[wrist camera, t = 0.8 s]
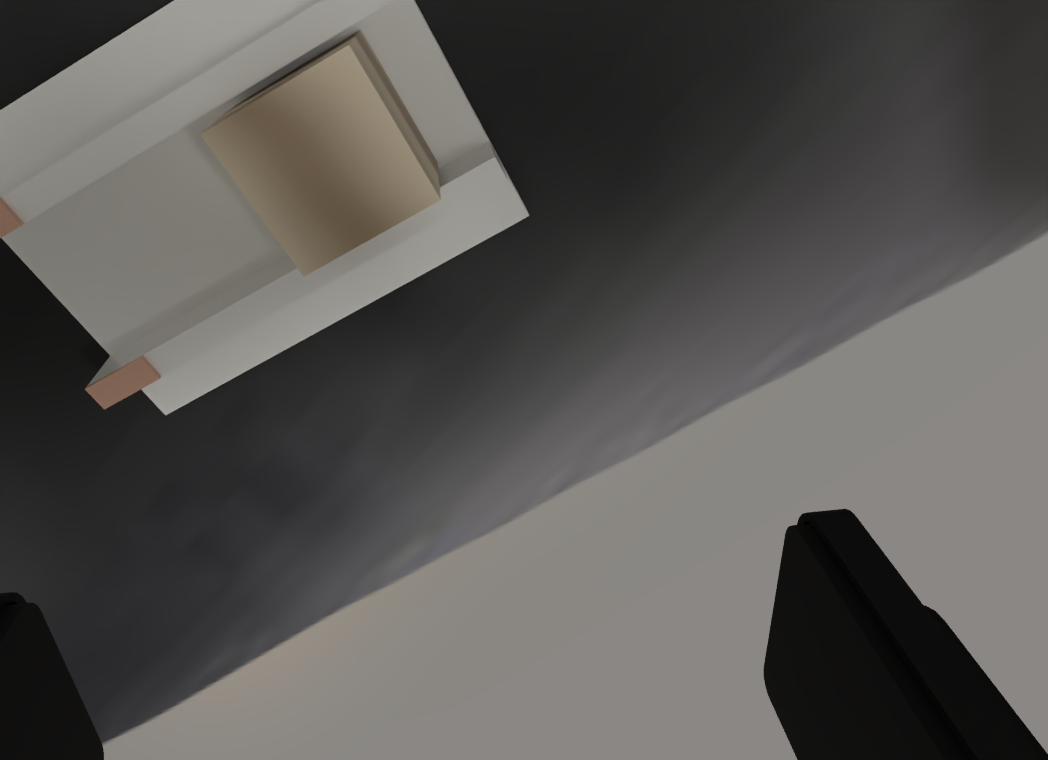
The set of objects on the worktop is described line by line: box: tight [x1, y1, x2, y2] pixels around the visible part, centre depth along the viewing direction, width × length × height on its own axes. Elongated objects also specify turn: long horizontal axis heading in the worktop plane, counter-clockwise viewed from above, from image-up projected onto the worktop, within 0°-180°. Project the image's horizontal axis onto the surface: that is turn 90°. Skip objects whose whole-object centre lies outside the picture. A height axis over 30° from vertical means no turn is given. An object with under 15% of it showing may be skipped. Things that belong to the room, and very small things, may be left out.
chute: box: [0, 0, 529, 415], centre depth 28 cm, size 17×12×4 cm
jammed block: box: [200, 30, 441, 277], centre depth 25 cm, size 5×5×5 cm
